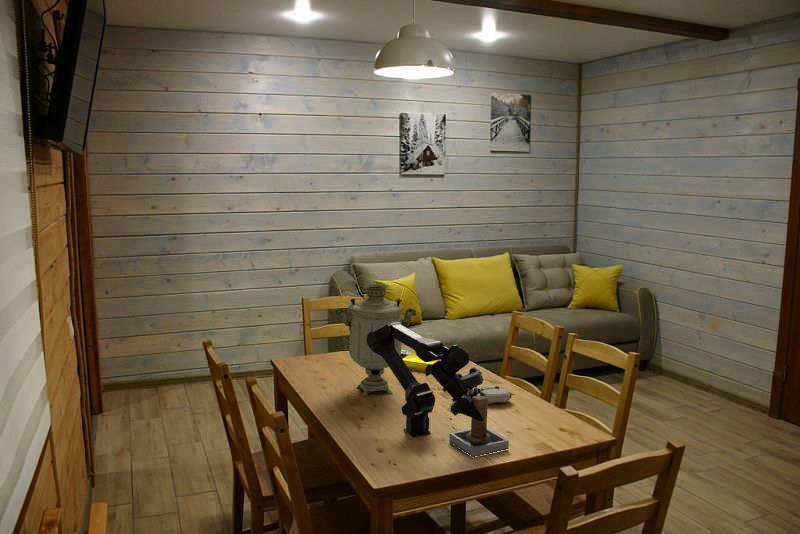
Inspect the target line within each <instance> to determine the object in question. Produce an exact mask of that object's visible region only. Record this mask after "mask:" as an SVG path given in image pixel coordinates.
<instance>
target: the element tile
mask: <svg viewBox="0 0 800 534" xmlns="http://www.w3.org/2000/svg"><path fill="white" fill-rule="evenodd" d="M402 360H403V361H404V362H405V364H406V365H407V367H408V368H409V370H410V371H414V370H417V371H416V372H422V371H423V373H426V369H425V368H426V367H427V366H428V365H429V364H430V365H433V364H434V363H435V362H437V361H441V359H440V360H436V361H432V362H427V363H426V362H423V361H422V360H421V359H420V358H419V357H418V356H417V355H416V352H415V351H412V352H411V353H409V354H407V355H406V356H405V357H402Z"/></svg>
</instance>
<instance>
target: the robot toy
mask: <svg viewBox="0 0 800 534" xmlns="http://www.w3.org/2000/svg"><path fill="white" fill-rule="evenodd" d="M480 387H481V388H478V387H476V388H475V387H474V388H473V389H472V390H473V391H475V390H476V389H478V393H477V395H479V396H484V397H486V398H488V405H491V404H494V403H500V404H504V403H507V402H509V401H510V400H511V398H512V395H514V396H515V395H516V393H512V392H510V391H509V390H507V389H505V388H500V386H497V385H496V386H494V385H492V384H485V385H482V386H480ZM472 390H471V391H472Z"/></svg>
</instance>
